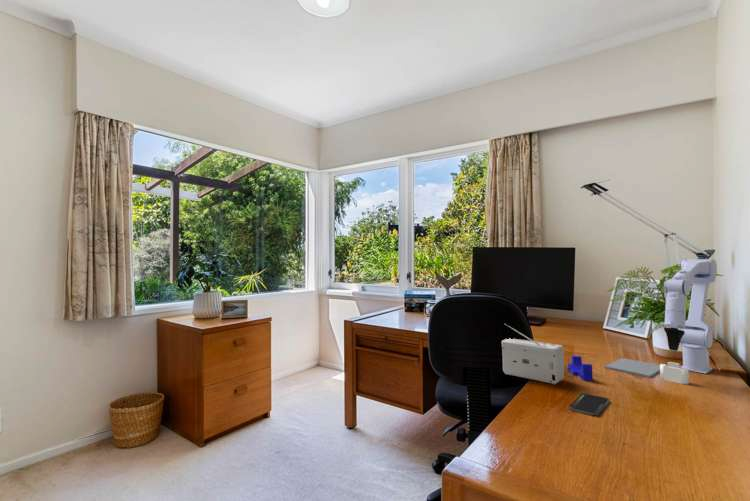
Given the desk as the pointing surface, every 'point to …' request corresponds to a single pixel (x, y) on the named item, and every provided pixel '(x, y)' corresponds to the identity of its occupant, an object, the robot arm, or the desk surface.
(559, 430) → the desk surface
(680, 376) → the connector plug
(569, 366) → the blue notched block
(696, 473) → the desk surface
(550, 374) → the stereo radio cassette player
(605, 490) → the desk surface
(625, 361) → the desk mat
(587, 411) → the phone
